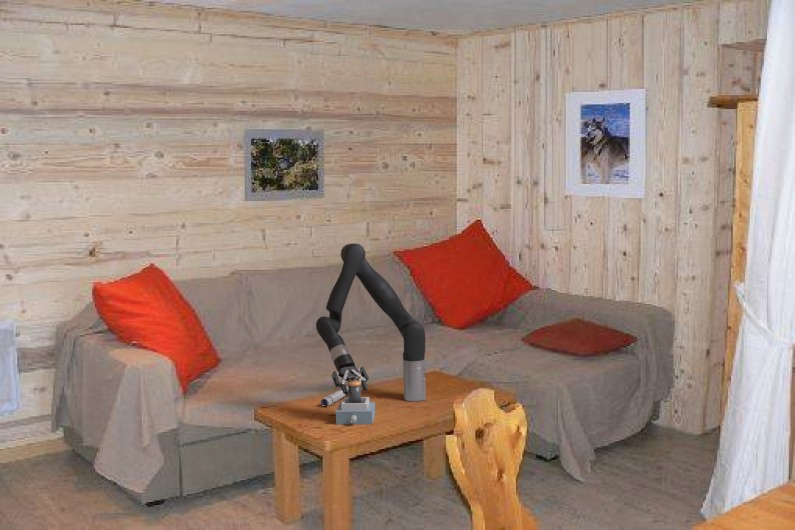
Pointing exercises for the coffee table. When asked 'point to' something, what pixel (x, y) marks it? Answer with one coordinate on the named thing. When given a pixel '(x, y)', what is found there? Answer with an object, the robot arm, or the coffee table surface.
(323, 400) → the grey flanged rod
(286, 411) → the coffee table surface
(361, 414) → the blue knob tray
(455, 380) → the coffee table surface
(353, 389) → the dark grey lidded jar
